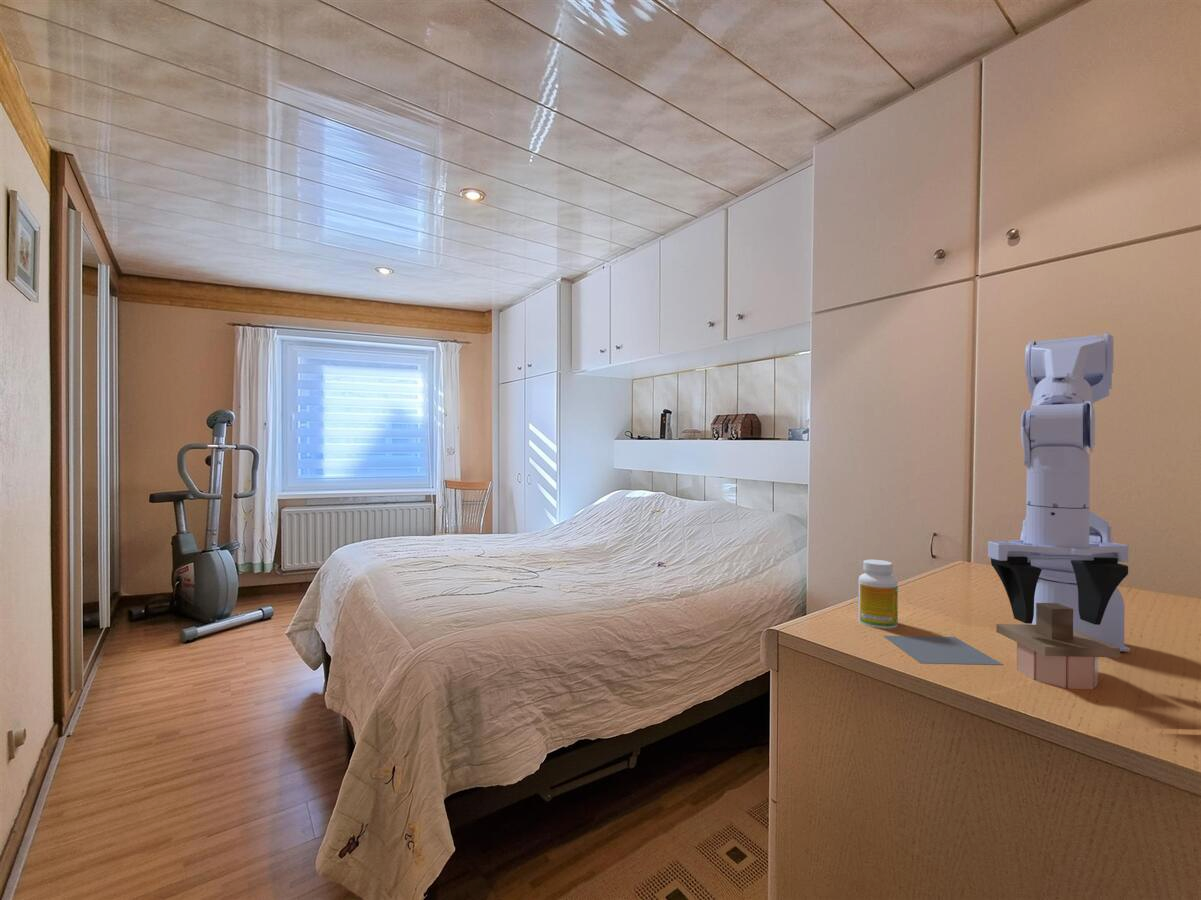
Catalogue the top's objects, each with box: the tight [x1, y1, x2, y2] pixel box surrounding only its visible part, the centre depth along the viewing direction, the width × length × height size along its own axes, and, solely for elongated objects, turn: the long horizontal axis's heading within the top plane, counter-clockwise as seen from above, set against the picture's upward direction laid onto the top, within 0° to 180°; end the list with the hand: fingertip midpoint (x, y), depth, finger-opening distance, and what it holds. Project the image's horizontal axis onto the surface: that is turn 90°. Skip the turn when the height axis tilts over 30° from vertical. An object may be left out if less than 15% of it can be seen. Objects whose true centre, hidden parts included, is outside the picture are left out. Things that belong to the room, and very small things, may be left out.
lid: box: [995, 603, 1121, 658], centre depth 65 cm, size 8×8×4 cm
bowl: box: [1016, 642, 1099, 690], centre depth 64 cm, size 7×7×4 cm
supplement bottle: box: [857, 559, 899, 629], centre depth 84 cm, size 5×5×10 cm
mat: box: [883, 635, 1004, 666], centre depth 73 cm, size 10×10×1 cm
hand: (1056, 621), depth 64 cm, fingers open, 7 cm apart
